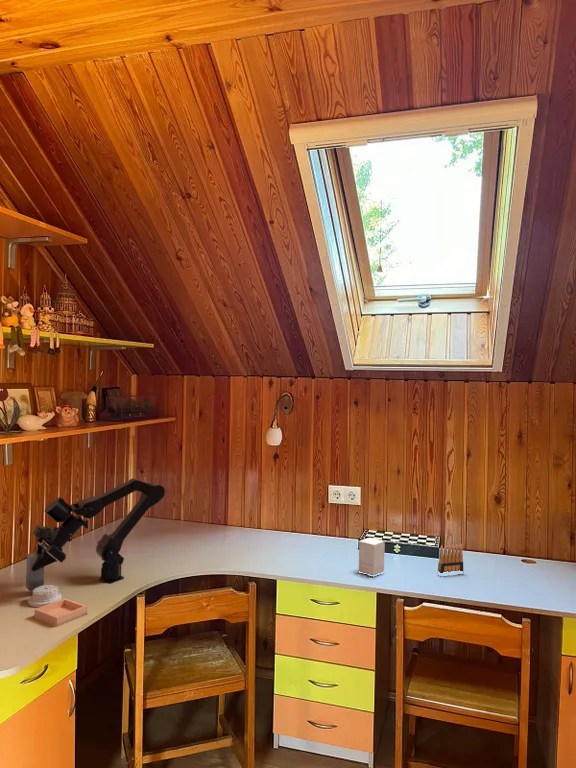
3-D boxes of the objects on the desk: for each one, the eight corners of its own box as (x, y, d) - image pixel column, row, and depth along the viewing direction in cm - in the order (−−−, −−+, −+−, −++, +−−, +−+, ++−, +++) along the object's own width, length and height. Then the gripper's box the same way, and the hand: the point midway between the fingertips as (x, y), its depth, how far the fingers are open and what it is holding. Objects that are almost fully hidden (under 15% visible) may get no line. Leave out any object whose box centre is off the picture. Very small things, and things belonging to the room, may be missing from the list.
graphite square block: (40, 584, 188) (41, 551, 188) (43, 588, 185) (44, 555, 185) (26, 586, 186) (26, 554, 186) (29, 591, 182) (29, 557, 182)
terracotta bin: (64, 606, 176) (65, 598, 176) (87, 614, 170) (87, 606, 170) (34, 617, 167) (34, 609, 167) (56, 626, 161) (57, 618, 161)
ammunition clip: (460, 573, 219) (461, 542, 219) (463, 574, 217) (464, 544, 217) (437, 575, 216) (438, 544, 216) (440, 577, 214) (441, 545, 214)
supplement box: (384, 573, 216) (385, 541, 216) (373, 578, 210) (374, 544, 210) (369, 568, 221) (370, 537, 221) (357, 573, 216) (358, 540, 216)
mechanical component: (25, 600, 180) (31, 610, 172) (25, 586, 180) (32, 596, 172) (57, 594, 186) (65, 604, 178) (57, 580, 186) (65, 590, 178)
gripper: (42, 510, 195) (6, 546, 188) (56, 522, 180) (18, 562, 173) (65, 529, 200) (31, 566, 193) (80, 542, 185) (44, 582, 178)
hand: (30, 568), depth 184 cm, fingers closed on graphite square block, 4 cm apart
